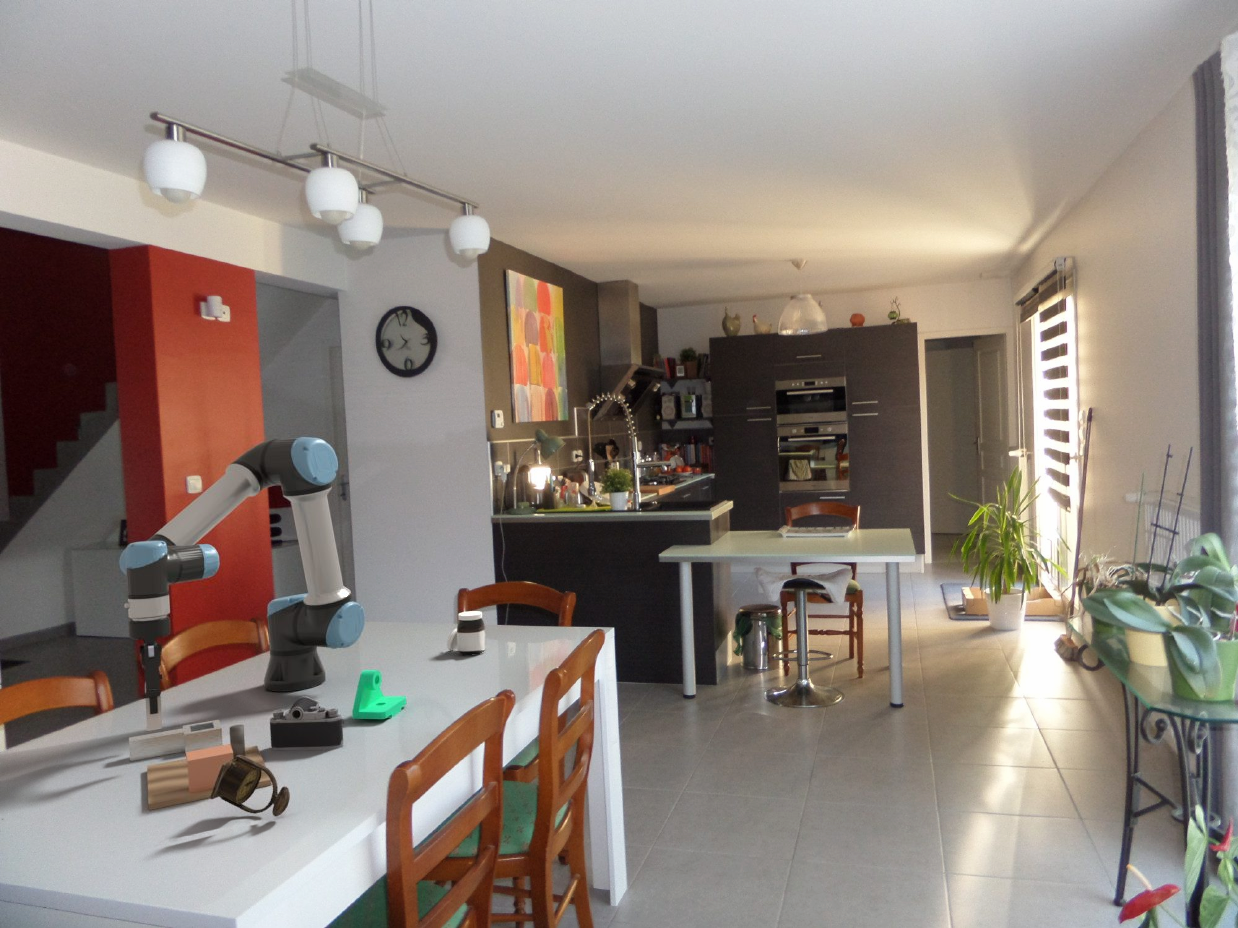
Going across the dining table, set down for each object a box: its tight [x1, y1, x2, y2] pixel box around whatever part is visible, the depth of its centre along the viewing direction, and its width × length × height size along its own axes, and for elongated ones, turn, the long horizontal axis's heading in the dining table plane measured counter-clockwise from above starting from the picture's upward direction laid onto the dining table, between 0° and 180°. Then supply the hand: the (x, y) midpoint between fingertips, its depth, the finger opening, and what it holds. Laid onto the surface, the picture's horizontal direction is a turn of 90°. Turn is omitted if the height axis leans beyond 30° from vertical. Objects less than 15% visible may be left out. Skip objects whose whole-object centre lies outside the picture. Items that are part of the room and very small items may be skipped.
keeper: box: [185, 743, 234, 793], centre depth 166 cm, size 6×8×6 cm
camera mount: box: [352, 669, 407, 720], centre depth 208 cm, size 12×8×10 cm, turn 168°
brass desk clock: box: [209, 755, 291, 817], centre depth 154 cm, size 7×13×10 cm, turn 95°
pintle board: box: [146, 724, 272, 811], centre depth 172 cm, size 22×20×7 cm
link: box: [128, 719, 223, 762], centre depth 189 cm, size 17×7×4 cm, turn 118°
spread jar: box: [446, 610, 487, 656], centre depth 264 cm, size 12×11×12 cm
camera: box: [269, 695, 345, 751], centre depth 190 cm, size 16×8×10 cm, turn 86°
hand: (154, 720), depth 186 cm, fingers open, 13 cm apart
